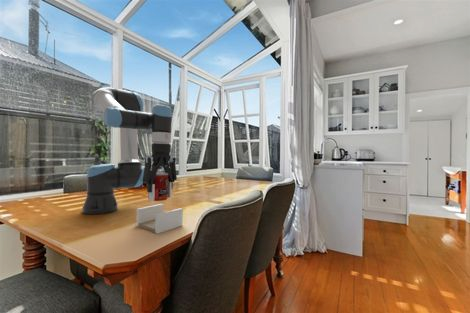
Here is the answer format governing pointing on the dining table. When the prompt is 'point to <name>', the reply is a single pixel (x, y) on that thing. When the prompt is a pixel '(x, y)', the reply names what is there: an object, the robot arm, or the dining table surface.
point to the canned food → (160, 186)
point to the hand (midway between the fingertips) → (160, 198)
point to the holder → (158, 218)
